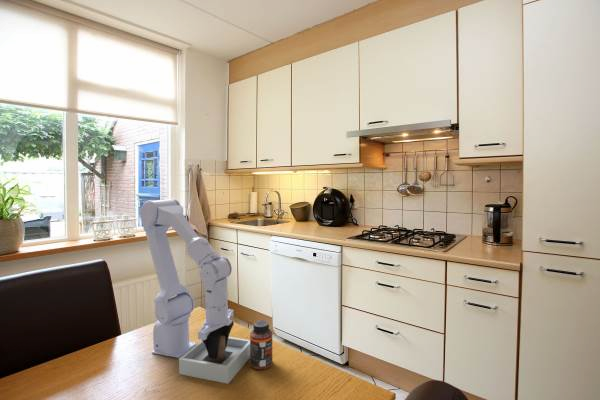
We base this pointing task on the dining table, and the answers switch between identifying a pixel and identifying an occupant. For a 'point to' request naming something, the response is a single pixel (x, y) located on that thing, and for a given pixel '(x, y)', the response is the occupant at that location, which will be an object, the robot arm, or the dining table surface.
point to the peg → (220, 351)
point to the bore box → (199, 366)
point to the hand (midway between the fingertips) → (217, 353)
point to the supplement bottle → (261, 346)
